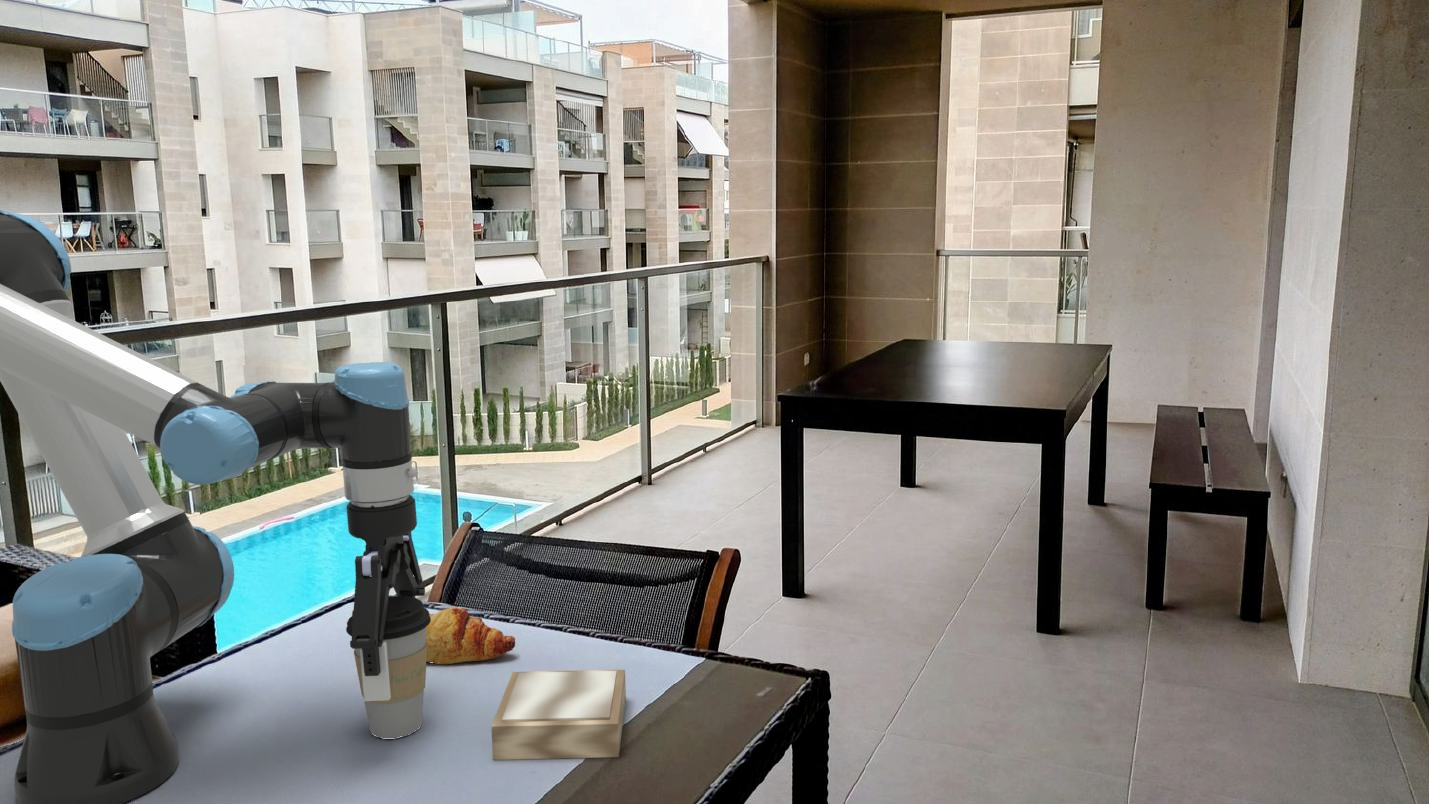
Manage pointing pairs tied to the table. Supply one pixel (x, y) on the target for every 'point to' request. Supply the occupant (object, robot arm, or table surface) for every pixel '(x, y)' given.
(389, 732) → the coffee cup
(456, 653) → the croissant
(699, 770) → the table surface
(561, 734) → the plinth
